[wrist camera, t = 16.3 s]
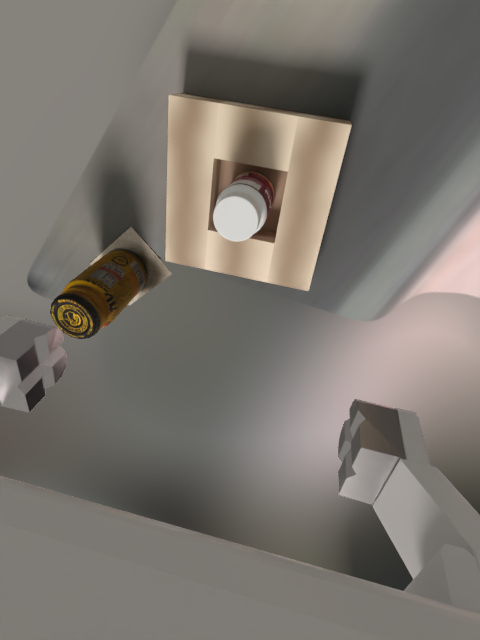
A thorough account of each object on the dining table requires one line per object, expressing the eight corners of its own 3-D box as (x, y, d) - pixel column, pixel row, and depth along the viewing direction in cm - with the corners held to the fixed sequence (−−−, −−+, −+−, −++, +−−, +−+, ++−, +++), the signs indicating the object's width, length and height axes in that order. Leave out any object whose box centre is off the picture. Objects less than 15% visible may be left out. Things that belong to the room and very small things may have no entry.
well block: (350, 120, 35) (351, 125, 32) (310, 275, 44) (308, 291, 41) (182, 93, 37) (168, 94, 34) (177, 248, 46) (165, 260, 42)
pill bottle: (270, 221, 41) (258, 251, 34) (227, 212, 41) (206, 240, 34) (279, 175, 38) (267, 197, 31) (232, 166, 39) (210, 186, 32)
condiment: (90, 262, 49) (29, 309, 39) (131, 225, 45) (75, 267, 35) (130, 304, 52) (81, 359, 42) (173, 272, 48) (130, 324, 38)
